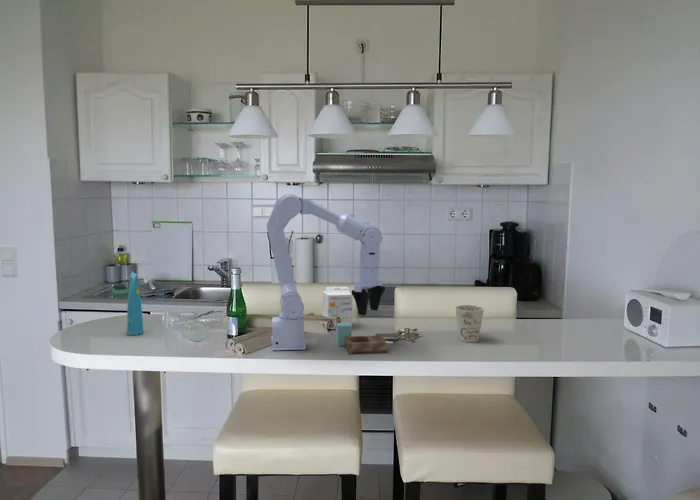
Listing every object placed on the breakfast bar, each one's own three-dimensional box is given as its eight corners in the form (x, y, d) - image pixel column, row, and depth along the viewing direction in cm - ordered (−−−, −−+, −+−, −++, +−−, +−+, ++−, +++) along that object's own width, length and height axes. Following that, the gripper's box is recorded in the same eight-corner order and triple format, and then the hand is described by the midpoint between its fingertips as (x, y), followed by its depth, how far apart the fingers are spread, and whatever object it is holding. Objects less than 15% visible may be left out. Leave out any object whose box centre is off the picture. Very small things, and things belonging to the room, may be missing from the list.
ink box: (327, 330, 172) (327, 290, 170) (321, 324, 180) (322, 285, 178) (352, 329, 174) (353, 289, 173) (346, 322, 182) (346, 284, 181)
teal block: (337, 346, 154) (337, 326, 154) (336, 342, 158) (336, 322, 158) (351, 345, 155) (351, 325, 154) (349, 341, 159) (349, 322, 158)
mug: (451, 341, 161) (452, 309, 160) (462, 331, 172) (463, 301, 171) (478, 344, 157) (479, 312, 156) (488, 335, 168) (489, 304, 167)
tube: (146, 334, 163) (145, 273, 161) (130, 337, 160) (128, 275, 158) (139, 329, 169) (137, 270, 167) (123, 332, 166) (121, 271, 164)
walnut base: (348, 354, 146) (348, 343, 146) (344, 346, 154) (344, 336, 154) (387, 352, 148) (387, 342, 148) (381, 345, 155) (381, 335, 155)
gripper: (370, 271, 146) (368, 318, 147) (392, 265, 159) (390, 309, 160) (348, 268, 149) (347, 315, 151) (371, 263, 162) (370, 306, 163)
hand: (368, 312), depth 156 cm, fingers open, 7 cm apart
